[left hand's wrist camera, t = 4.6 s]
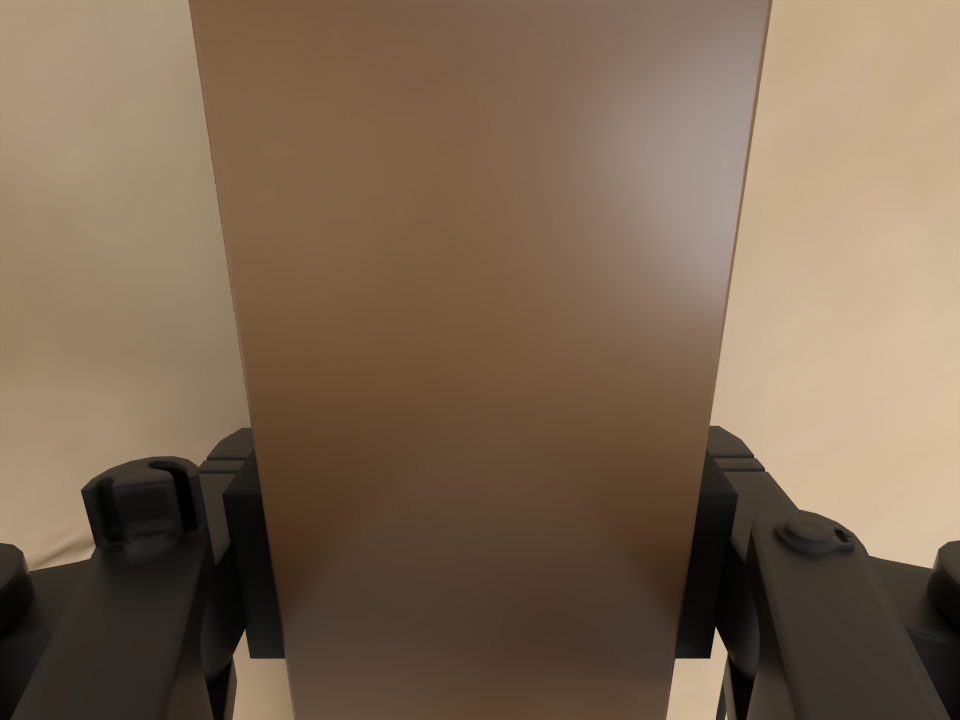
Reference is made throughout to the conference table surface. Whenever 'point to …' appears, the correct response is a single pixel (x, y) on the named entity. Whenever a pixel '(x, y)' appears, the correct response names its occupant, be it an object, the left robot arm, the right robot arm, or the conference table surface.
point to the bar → (480, 333)
